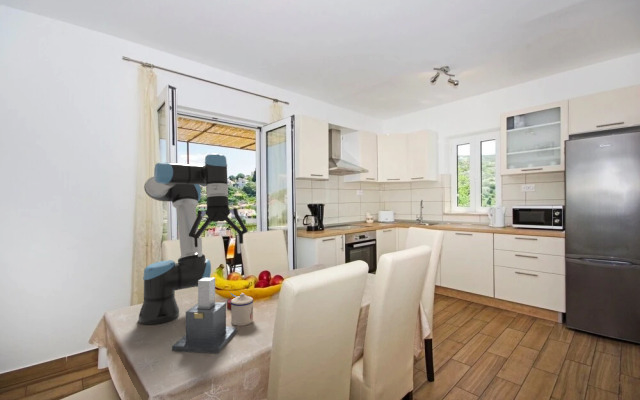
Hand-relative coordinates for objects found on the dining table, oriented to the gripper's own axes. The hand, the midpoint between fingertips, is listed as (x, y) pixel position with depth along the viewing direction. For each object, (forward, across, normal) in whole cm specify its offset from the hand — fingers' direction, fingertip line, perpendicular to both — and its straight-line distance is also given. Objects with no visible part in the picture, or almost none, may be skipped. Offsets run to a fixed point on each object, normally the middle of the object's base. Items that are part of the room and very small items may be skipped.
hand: (219, 254), depth 105 cm
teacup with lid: (+29, +4, +19) cm, 35 cm away
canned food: (+28, 0, +36) cm, 46 cm away
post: (+28, -6, +3) cm, 29 cm away
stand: (+30, -6, +3) cm, 31 cm away
